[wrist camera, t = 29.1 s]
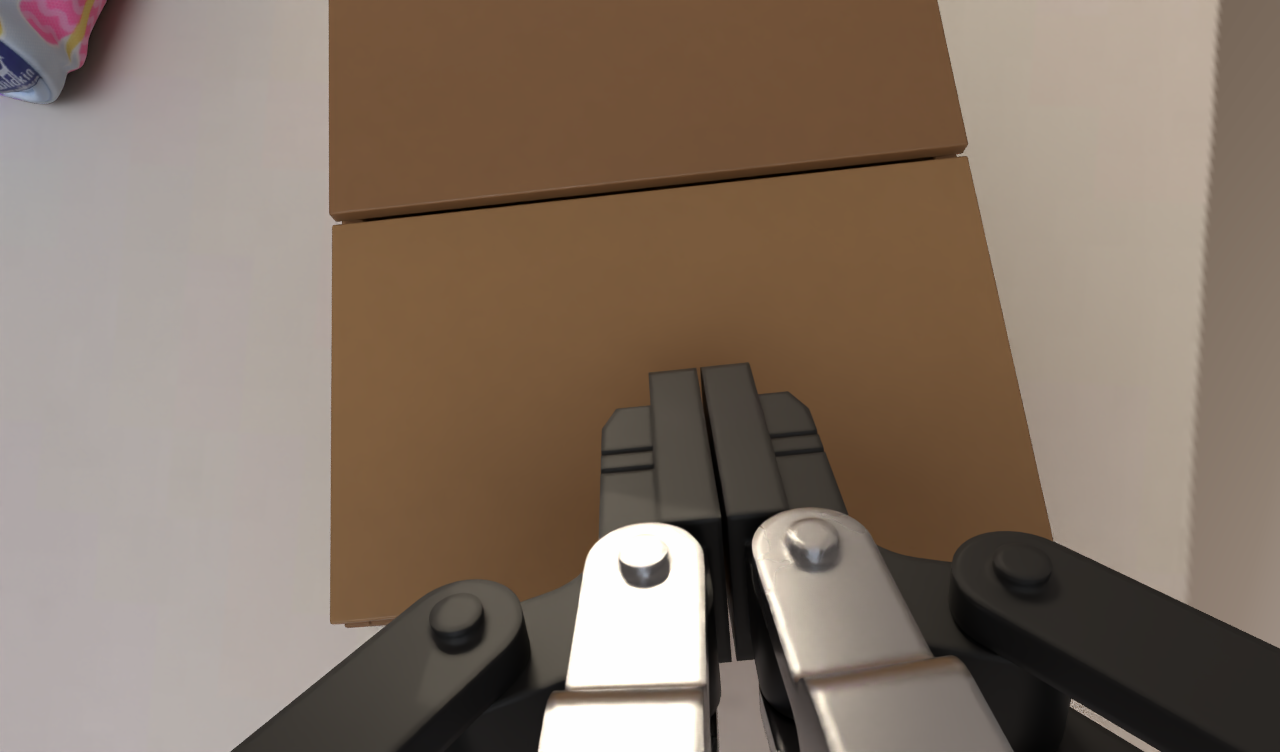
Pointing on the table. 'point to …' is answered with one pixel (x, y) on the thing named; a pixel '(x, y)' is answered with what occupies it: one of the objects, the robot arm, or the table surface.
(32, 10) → the pencil case
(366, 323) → the flap
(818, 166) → the carton
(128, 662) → the table surface
